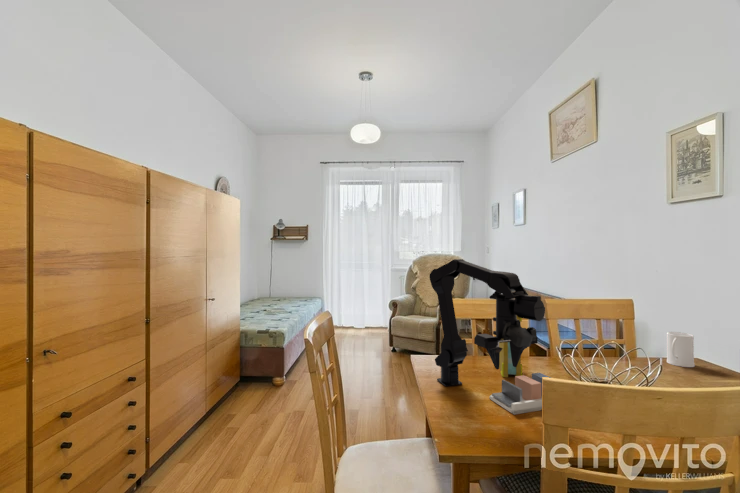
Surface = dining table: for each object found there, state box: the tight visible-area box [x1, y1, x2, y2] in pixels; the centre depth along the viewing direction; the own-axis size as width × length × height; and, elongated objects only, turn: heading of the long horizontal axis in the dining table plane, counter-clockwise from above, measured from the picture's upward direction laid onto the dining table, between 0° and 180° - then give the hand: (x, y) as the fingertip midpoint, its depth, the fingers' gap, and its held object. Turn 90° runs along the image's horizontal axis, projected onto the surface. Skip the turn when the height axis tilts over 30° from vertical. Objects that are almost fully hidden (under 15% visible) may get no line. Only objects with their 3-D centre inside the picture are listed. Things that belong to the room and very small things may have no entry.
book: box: [499, 316, 523, 378], centre depth 135 cm, size 17×7×25 cm, turn 168°
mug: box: [666, 331, 696, 368], centre depth 141 cm, size 12×8×12 cm
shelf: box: [489, 372, 552, 415], centre depth 106 cm, size 11×19×6 cm, turn 107°
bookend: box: [491, 379, 522, 407], centre depth 104 cm, size 8×4×4 cm, turn 17°
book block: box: [514, 374, 541, 401], centre depth 107 cm, size 7×4×6 cm, turn 18°
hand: (506, 367), depth 105 cm, fingers open, 6 cm apart
